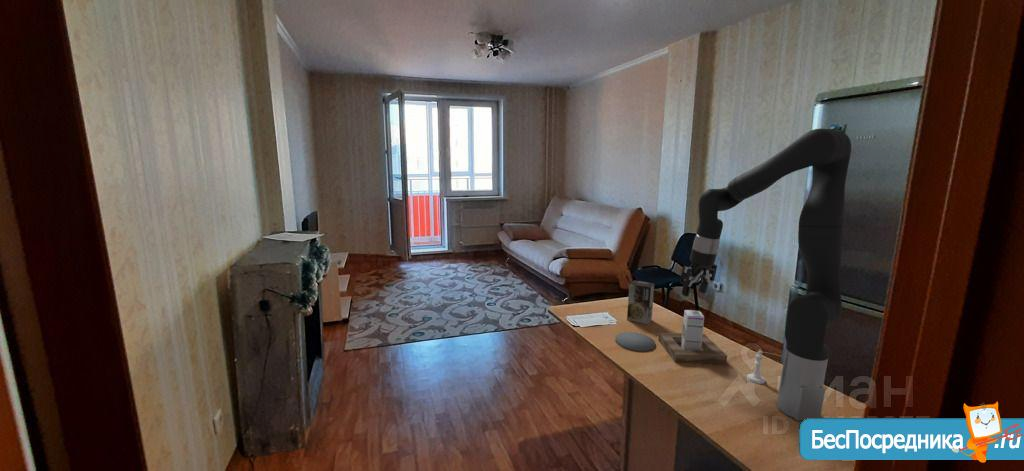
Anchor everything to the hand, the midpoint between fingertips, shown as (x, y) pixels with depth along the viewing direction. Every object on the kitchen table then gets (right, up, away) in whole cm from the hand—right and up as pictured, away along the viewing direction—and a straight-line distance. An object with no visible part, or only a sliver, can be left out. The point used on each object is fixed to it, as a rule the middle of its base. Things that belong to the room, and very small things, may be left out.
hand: (693, 293), depth 139 cm
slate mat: (-16, -20, +13) cm, 29 cm away
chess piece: (+14, -25, -11) cm, 31 cm away
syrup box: (+2, -22, +7) cm, 23 cm away
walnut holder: (+2, -21, +7) cm, 23 cm away
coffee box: (-8, -16, +34) cm, 39 cm away
